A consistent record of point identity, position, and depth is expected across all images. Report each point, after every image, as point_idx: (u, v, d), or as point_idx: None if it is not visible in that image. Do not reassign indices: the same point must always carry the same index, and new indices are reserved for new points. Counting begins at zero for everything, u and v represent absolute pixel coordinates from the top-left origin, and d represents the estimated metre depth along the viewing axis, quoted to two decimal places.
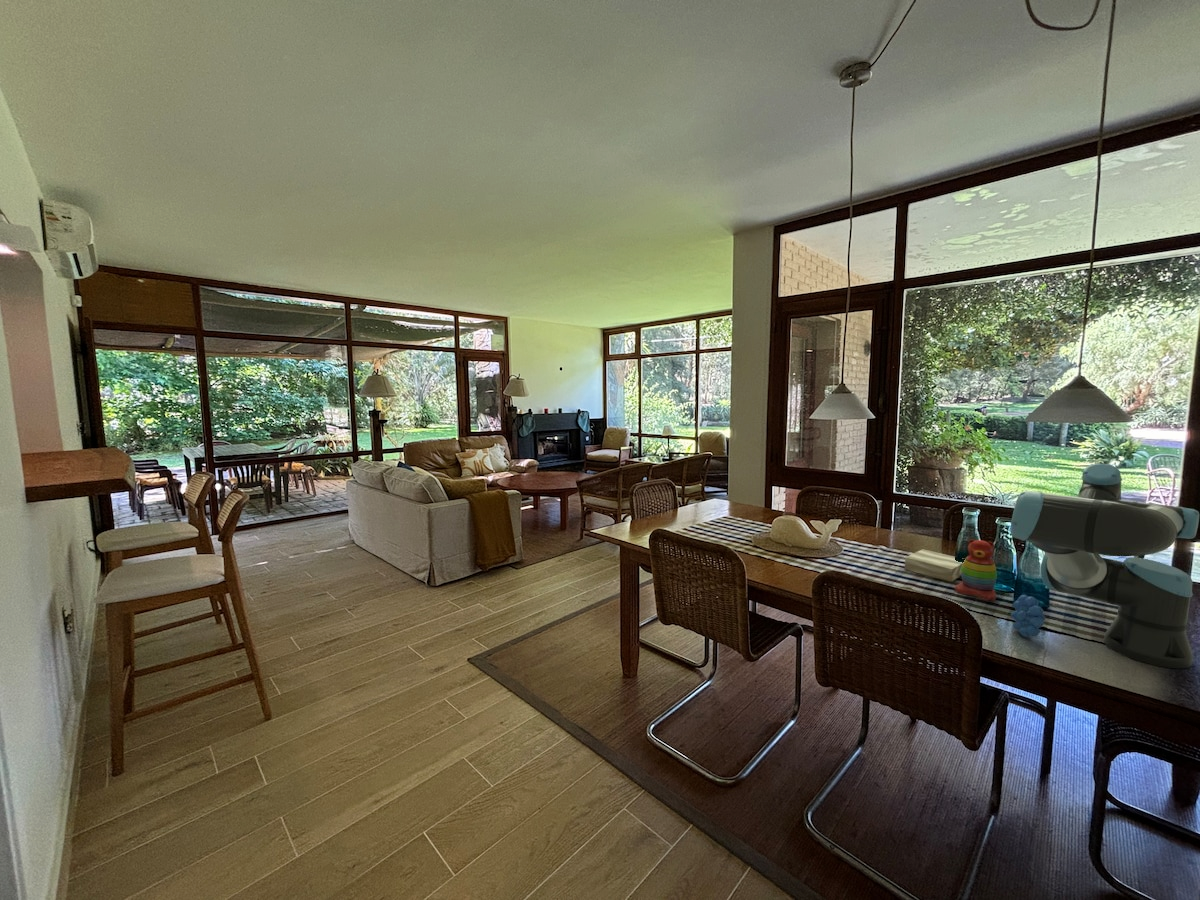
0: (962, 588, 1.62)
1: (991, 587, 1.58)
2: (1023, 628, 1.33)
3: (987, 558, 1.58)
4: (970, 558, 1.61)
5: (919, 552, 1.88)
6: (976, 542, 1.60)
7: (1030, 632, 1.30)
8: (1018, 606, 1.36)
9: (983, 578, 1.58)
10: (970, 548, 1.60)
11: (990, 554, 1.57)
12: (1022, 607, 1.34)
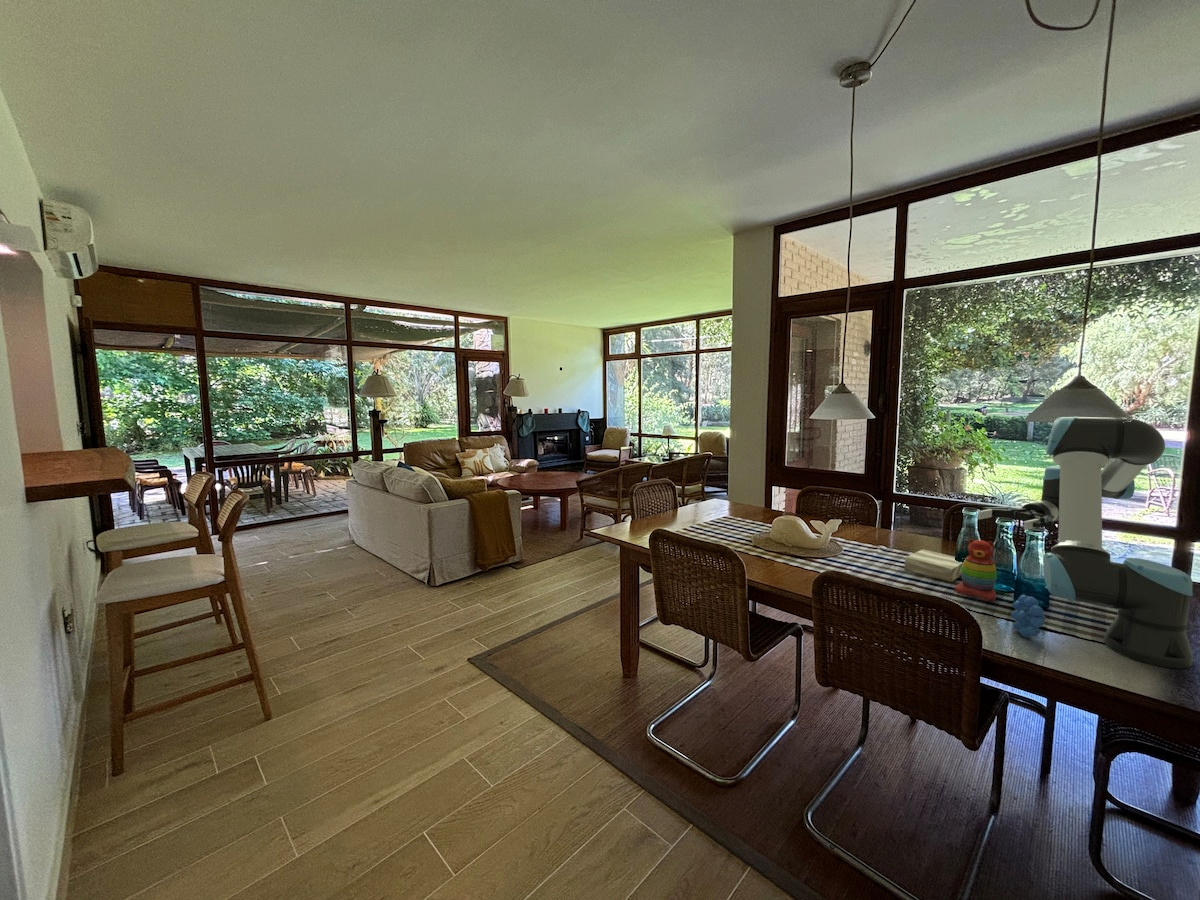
0: (962, 588, 1.62)
1: (991, 587, 1.58)
2: (1023, 628, 1.33)
3: (987, 558, 1.58)
4: (970, 558, 1.61)
5: (919, 552, 1.88)
6: (976, 542, 1.60)
7: (1030, 632, 1.30)
8: (1018, 606, 1.36)
9: (983, 578, 1.58)
10: (970, 548, 1.60)
11: (990, 554, 1.57)
12: (1022, 607, 1.34)
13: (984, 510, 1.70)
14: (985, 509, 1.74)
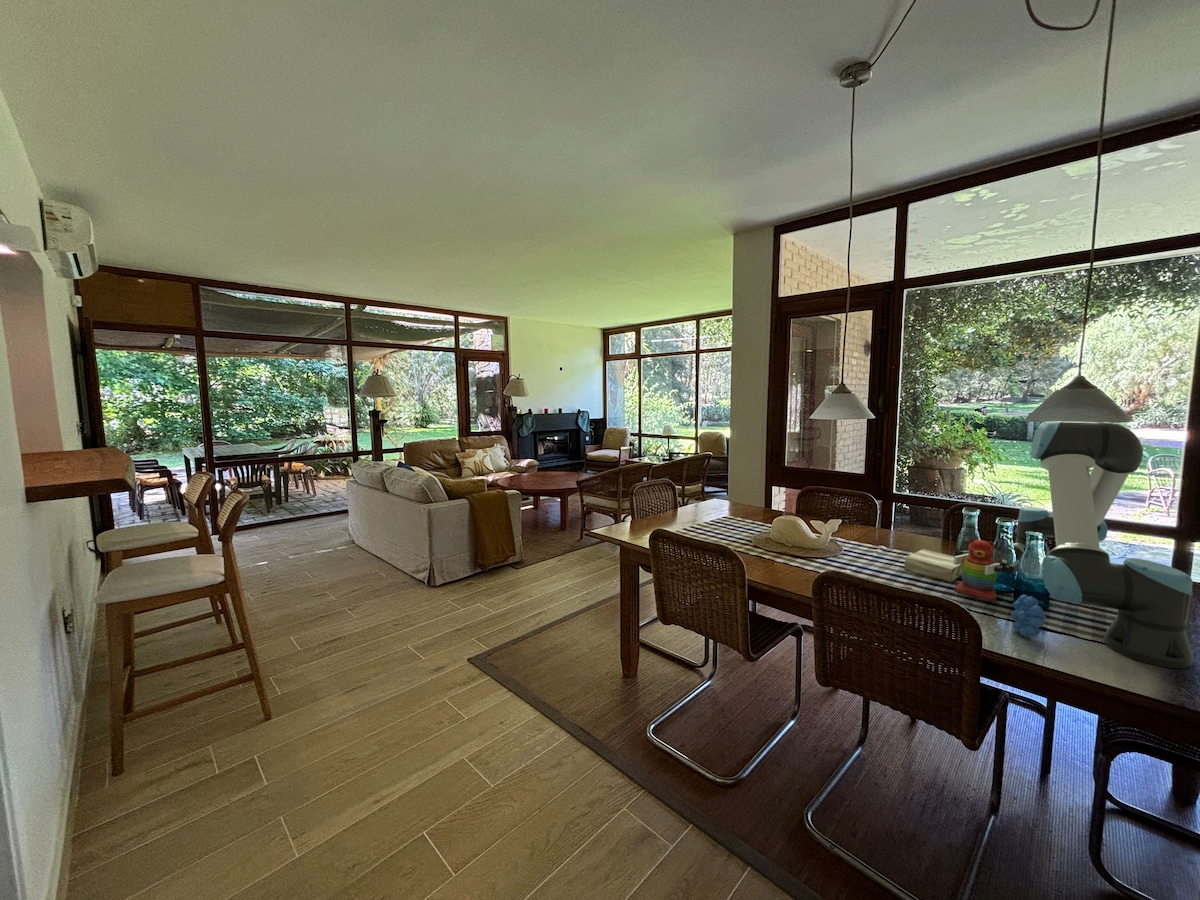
0: (962, 588, 1.62)
1: (991, 587, 1.58)
2: (1023, 628, 1.33)
3: (987, 558, 1.58)
4: (970, 558, 1.61)
5: (919, 552, 1.88)
6: (976, 542, 1.60)
7: (1030, 632, 1.30)
8: (1018, 606, 1.36)
9: (983, 578, 1.57)
10: (970, 548, 1.60)
11: (990, 554, 1.57)
12: (1022, 607, 1.34)
13: (960, 555, 1.65)
14: (962, 553, 1.68)
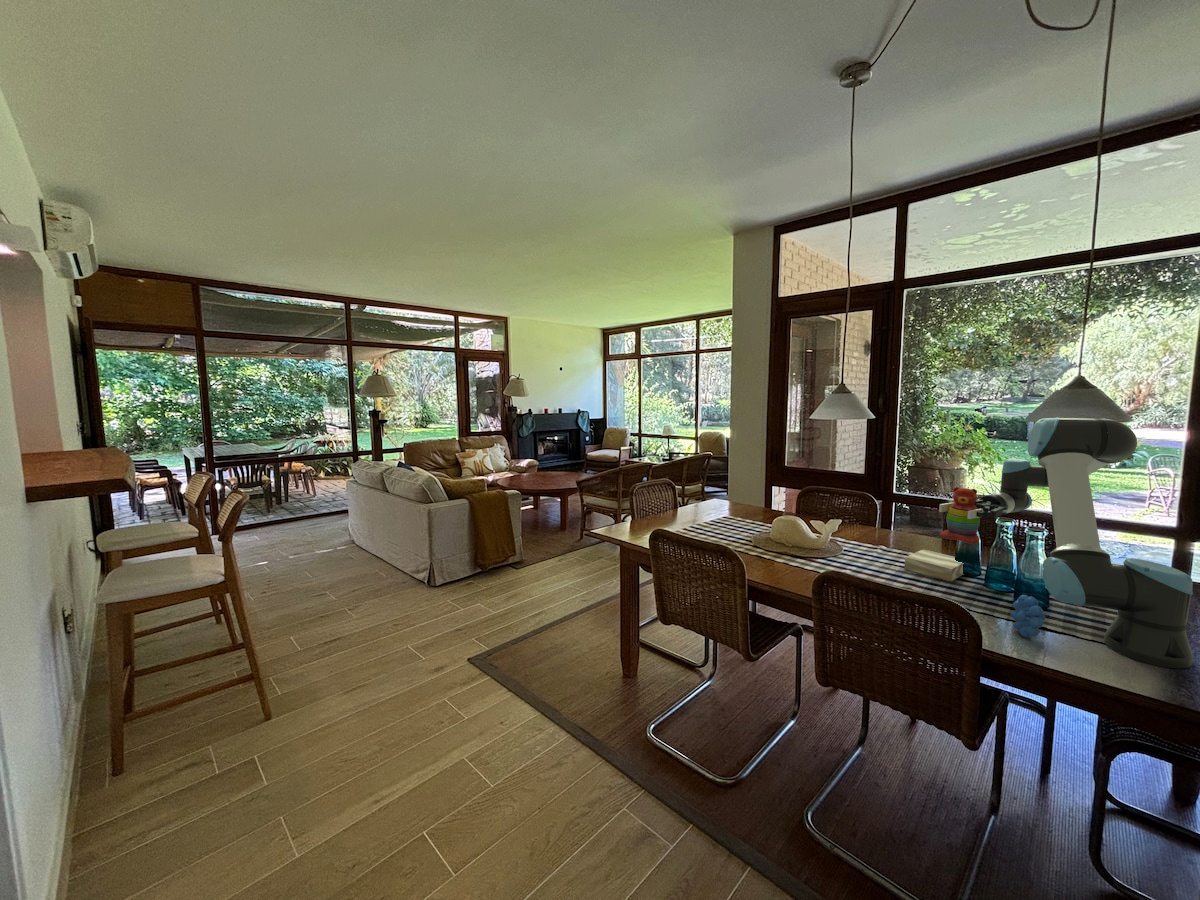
0: (946, 533, 1.70)
1: (974, 532, 1.66)
2: (1023, 628, 1.33)
3: (970, 504, 1.66)
4: (955, 505, 1.69)
5: (919, 552, 1.88)
6: (960, 489, 1.68)
7: (1030, 632, 1.30)
8: (1018, 606, 1.36)
9: (966, 523, 1.66)
10: (955, 495, 1.68)
11: (973, 500, 1.65)
12: (1022, 607, 1.34)
13: (946, 503, 1.73)
14: (947, 502, 1.76)
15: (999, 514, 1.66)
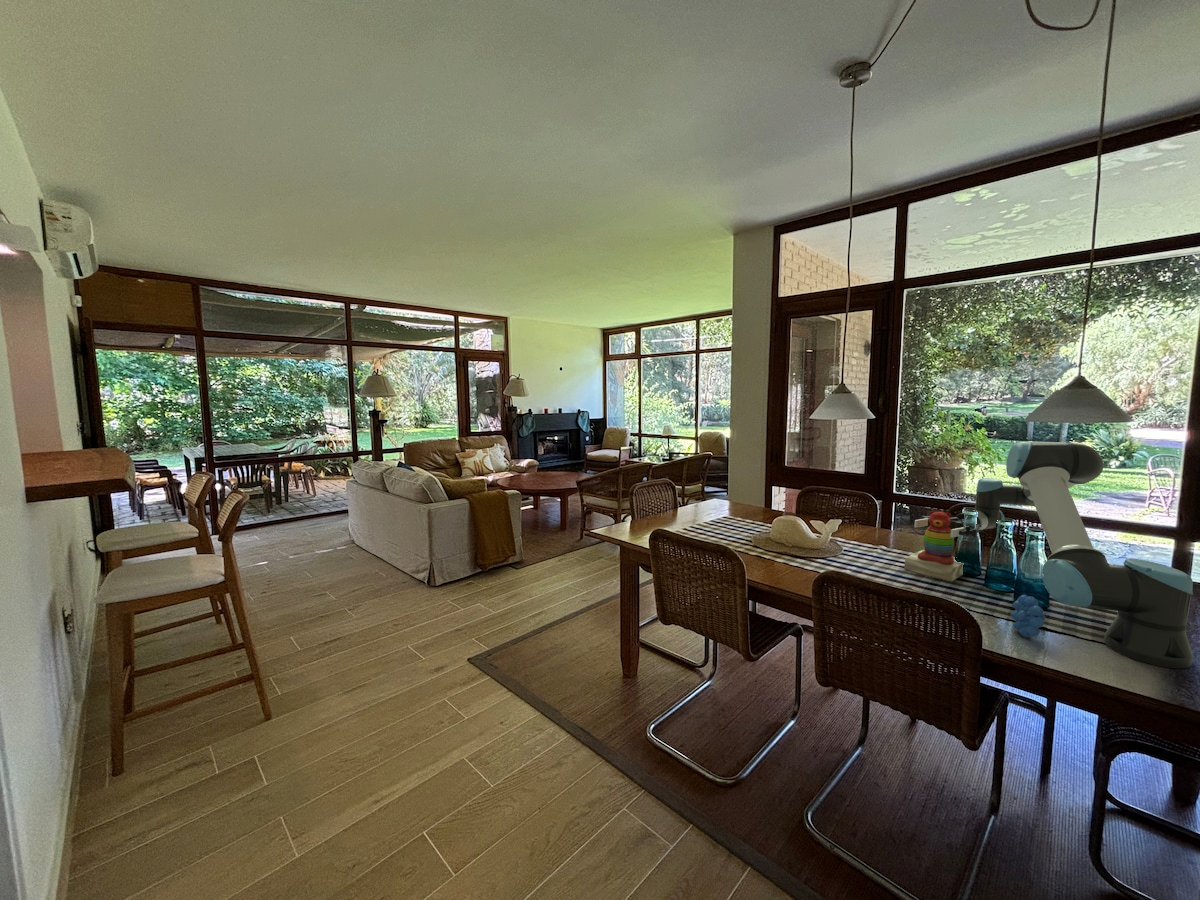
0: (923, 554, 1.80)
1: (949, 553, 1.77)
2: (1023, 628, 1.33)
3: (945, 527, 1.76)
4: (930, 527, 1.79)
5: (919, 552, 1.88)
6: (935, 513, 1.79)
7: (1030, 632, 1.30)
8: (1018, 606, 1.36)
9: (941, 545, 1.76)
10: (930, 519, 1.79)
11: (947, 523, 1.76)
12: (1022, 607, 1.34)
13: (920, 519, 1.85)
14: (922, 518, 1.89)
15: (977, 532, 1.75)
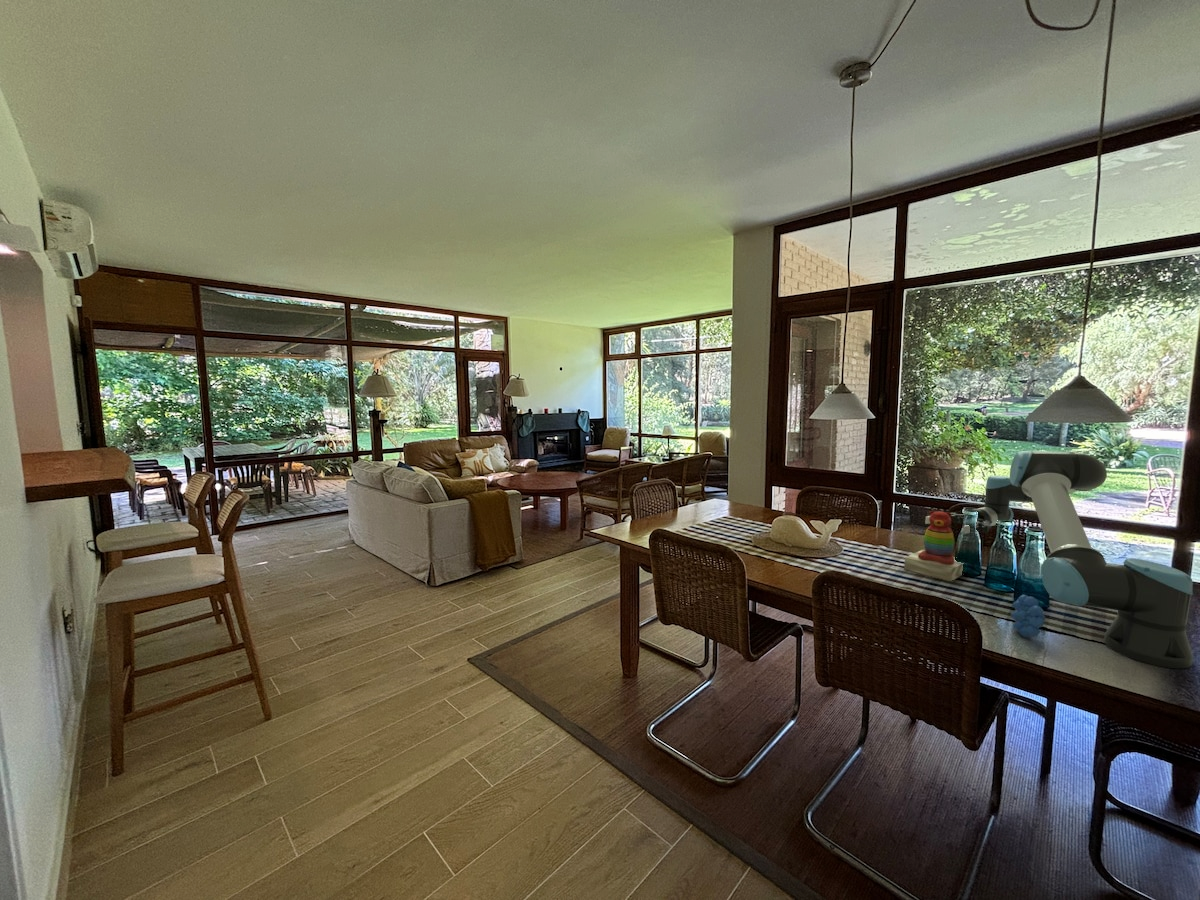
0: (924, 554, 1.80)
1: (949, 553, 1.77)
2: (1023, 628, 1.33)
3: (946, 527, 1.77)
4: (931, 527, 1.80)
5: (919, 552, 1.88)
6: (936, 513, 1.79)
7: (1030, 632, 1.30)
8: (1018, 606, 1.36)
9: (942, 545, 1.76)
10: (931, 518, 1.79)
11: (948, 523, 1.76)
12: (1022, 607, 1.34)
13: None
14: None
15: None
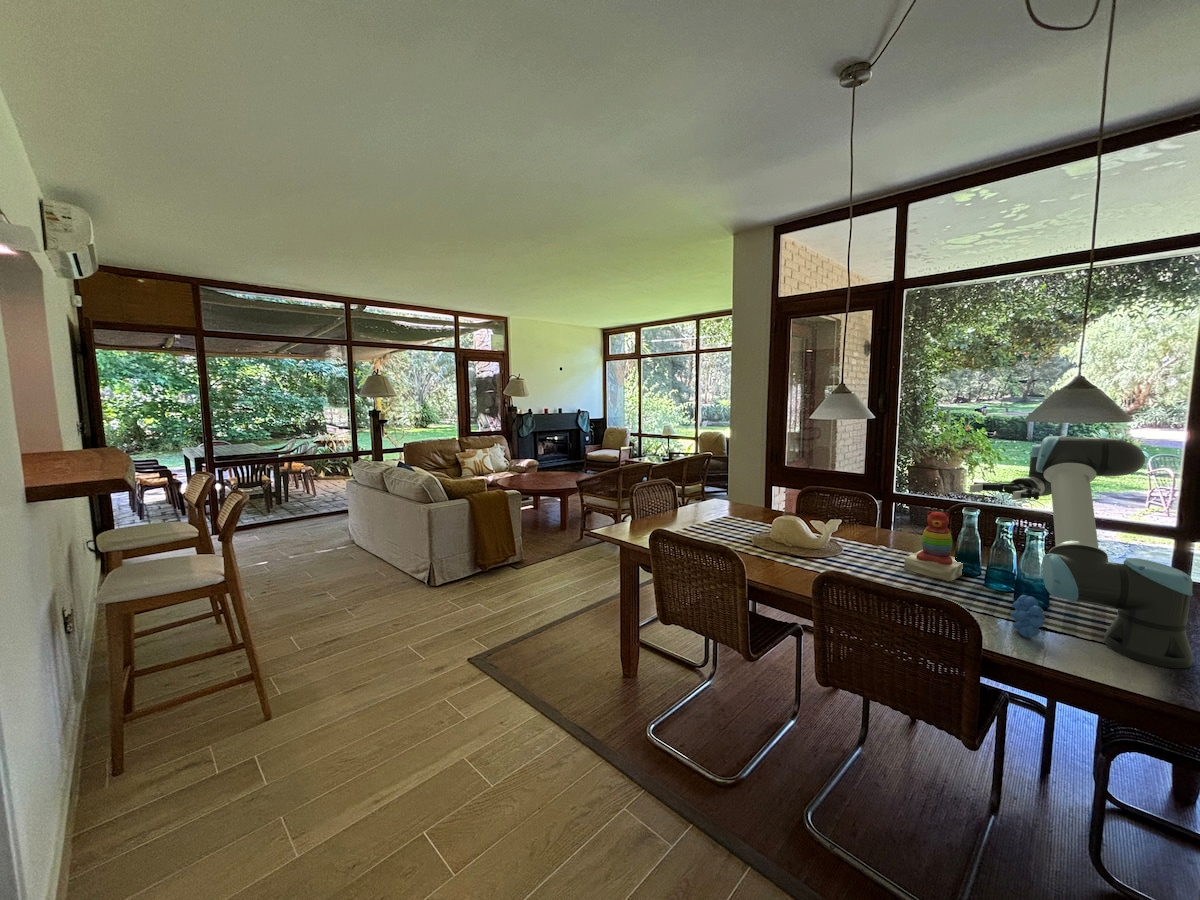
0: (922, 555, 1.80)
1: (948, 553, 1.77)
2: (1023, 628, 1.33)
3: (944, 527, 1.76)
4: (929, 528, 1.79)
5: None
6: (934, 513, 1.78)
7: (1030, 632, 1.30)
8: (1018, 606, 1.36)
9: (941, 545, 1.76)
10: (929, 519, 1.79)
11: (946, 523, 1.76)
12: (1022, 607, 1.34)
13: (975, 484, 1.80)
14: (976, 484, 1.84)
15: None
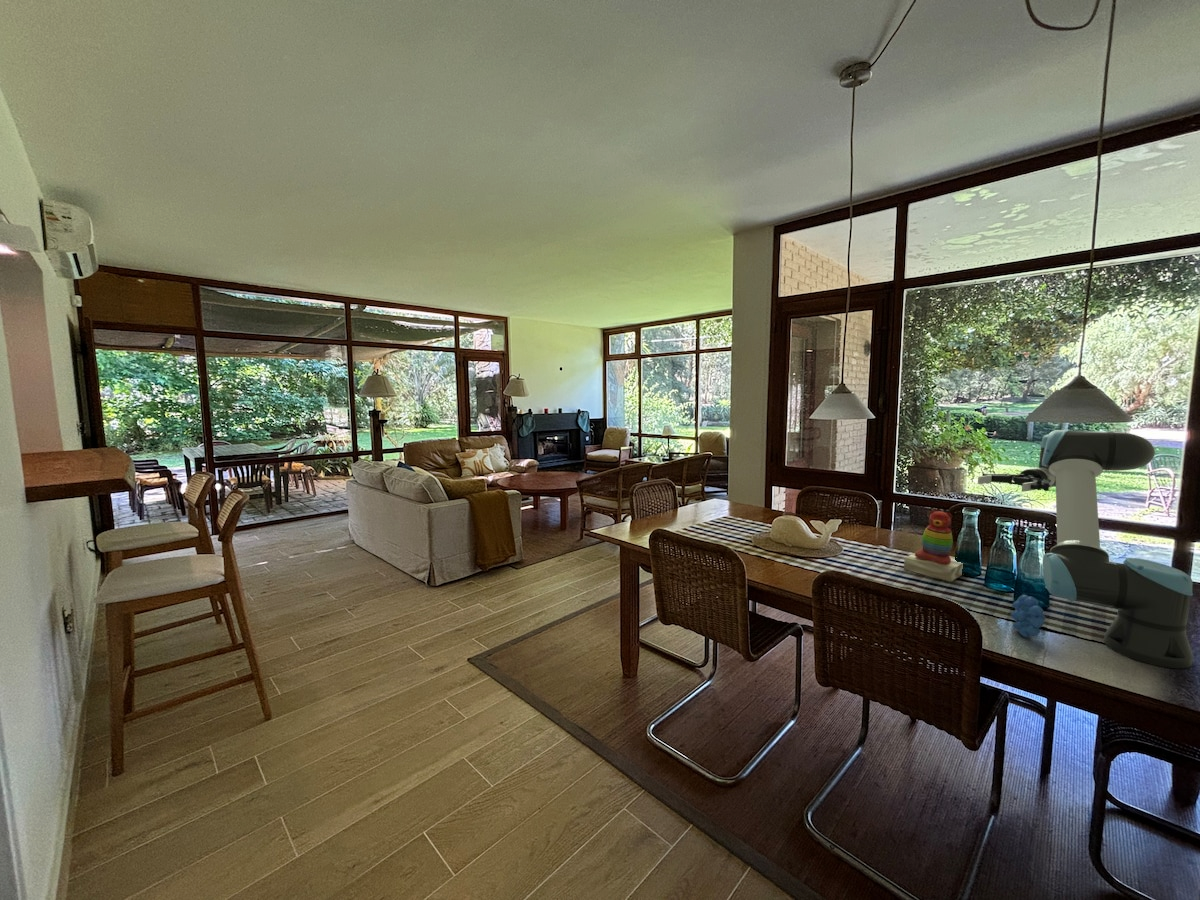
0: (921, 553, 1.81)
1: (946, 553, 1.77)
2: (1023, 628, 1.33)
3: (944, 527, 1.76)
4: (930, 526, 1.79)
5: None
6: (936, 513, 1.78)
7: (1030, 632, 1.30)
8: (1018, 606, 1.36)
9: (939, 545, 1.76)
10: (930, 518, 1.79)
11: (947, 523, 1.75)
12: (1022, 607, 1.34)
13: (984, 476, 1.78)
14: (985, 475, 1.81)
15: None
